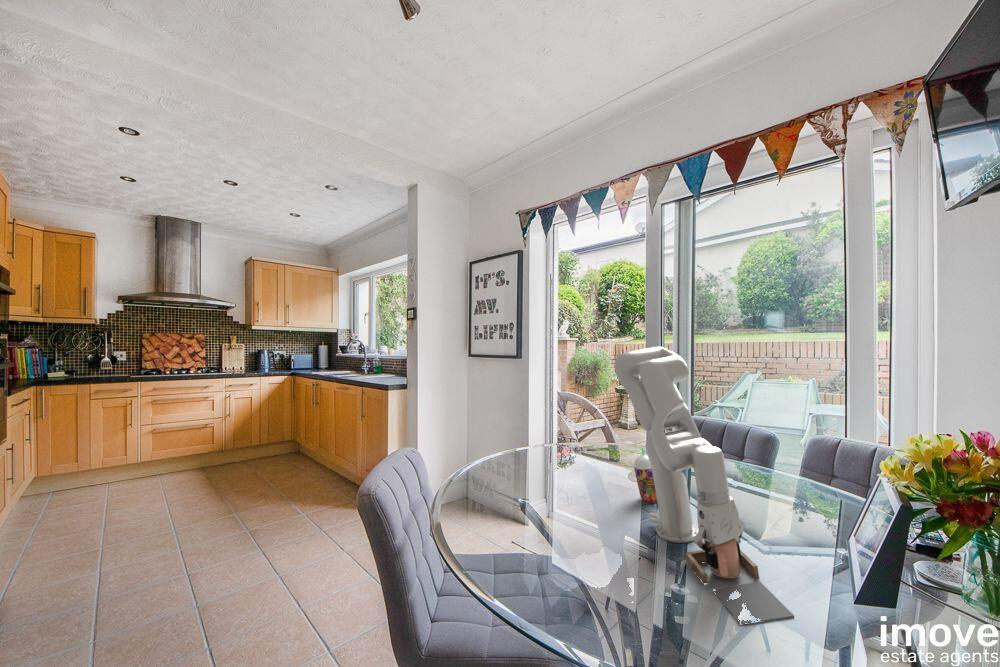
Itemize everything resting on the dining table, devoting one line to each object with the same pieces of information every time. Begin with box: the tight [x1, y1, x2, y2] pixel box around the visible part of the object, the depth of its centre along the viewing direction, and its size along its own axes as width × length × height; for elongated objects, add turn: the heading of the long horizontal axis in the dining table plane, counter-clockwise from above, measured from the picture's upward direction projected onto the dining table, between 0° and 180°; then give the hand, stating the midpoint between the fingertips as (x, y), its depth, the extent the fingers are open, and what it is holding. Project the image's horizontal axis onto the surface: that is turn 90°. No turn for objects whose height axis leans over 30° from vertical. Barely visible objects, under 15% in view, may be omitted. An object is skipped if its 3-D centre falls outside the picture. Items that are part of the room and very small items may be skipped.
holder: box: [685, 549, 760, 584], centre depth 110 cm, size 10×14×3 cm
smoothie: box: [632, 447, 657, 504], centre depth 155 cm, size 8×8×20 cm
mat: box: [713, 581, 795, 624], centre depth 97 cm, size 12×12×1 cm
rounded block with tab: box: [708, 538, 742, 579], centre depth 106 cm, size 12×7×8 cm, turn 153°
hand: (724, 561), depth 108 cm, fingers closed on rounded block with tab, 7 cm apart
